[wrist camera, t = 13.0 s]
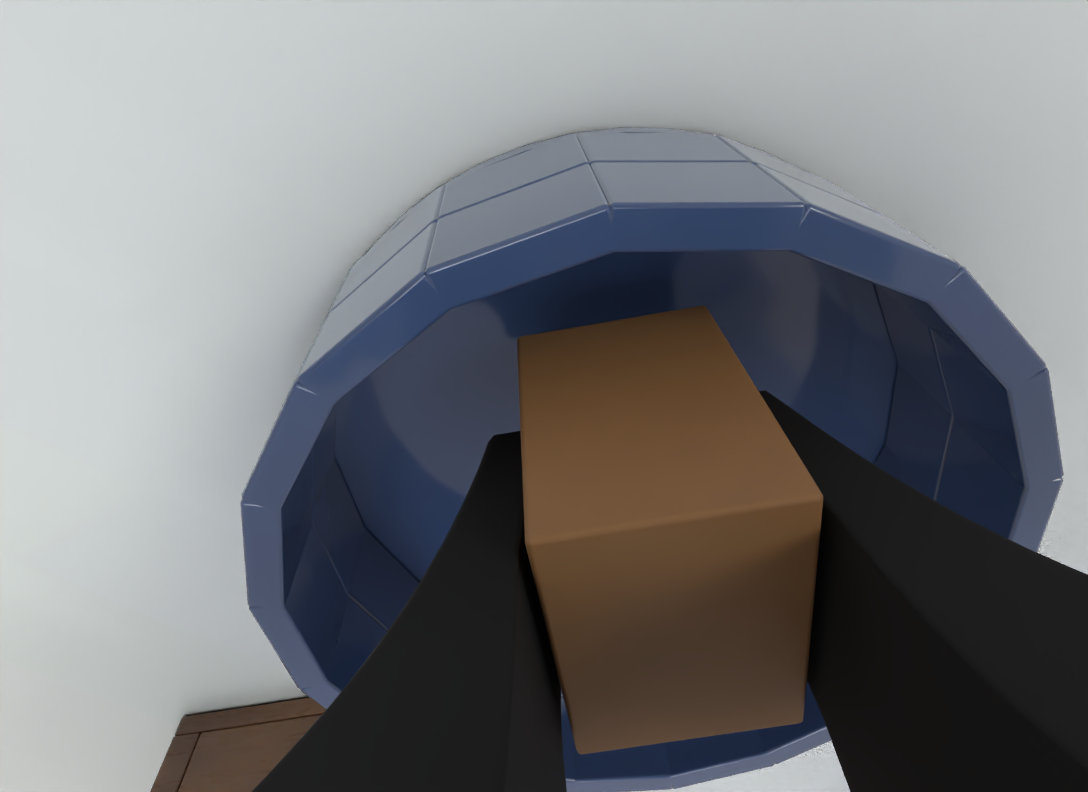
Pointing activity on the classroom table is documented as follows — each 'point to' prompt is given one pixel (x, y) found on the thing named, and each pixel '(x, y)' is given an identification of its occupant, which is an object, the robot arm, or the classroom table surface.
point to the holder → (233, 746)
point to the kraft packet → (664, 532)
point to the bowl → (607, 295)
